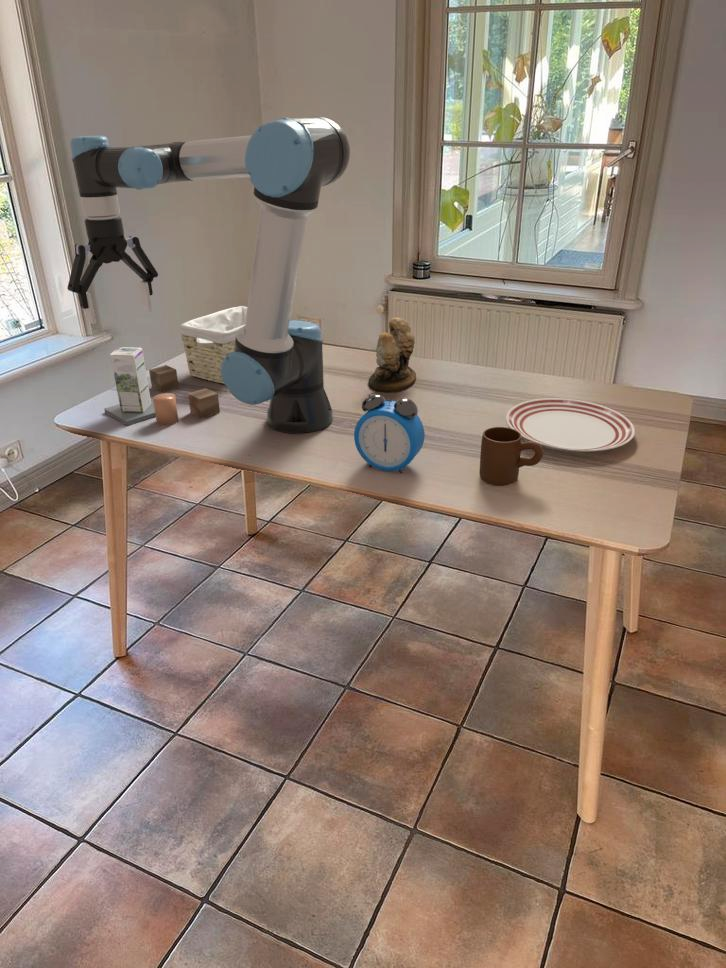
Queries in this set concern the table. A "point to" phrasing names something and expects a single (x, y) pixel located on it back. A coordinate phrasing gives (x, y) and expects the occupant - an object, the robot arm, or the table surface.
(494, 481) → the mug
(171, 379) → the dark oak block
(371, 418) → the alarm clock
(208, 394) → the walnut block
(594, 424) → the dinner plate
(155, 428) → the table surface
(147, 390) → the syrup box
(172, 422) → the terracotta cylinder
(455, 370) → the table surface
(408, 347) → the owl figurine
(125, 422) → the slate tile
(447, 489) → the table surface
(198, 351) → the storage basket
